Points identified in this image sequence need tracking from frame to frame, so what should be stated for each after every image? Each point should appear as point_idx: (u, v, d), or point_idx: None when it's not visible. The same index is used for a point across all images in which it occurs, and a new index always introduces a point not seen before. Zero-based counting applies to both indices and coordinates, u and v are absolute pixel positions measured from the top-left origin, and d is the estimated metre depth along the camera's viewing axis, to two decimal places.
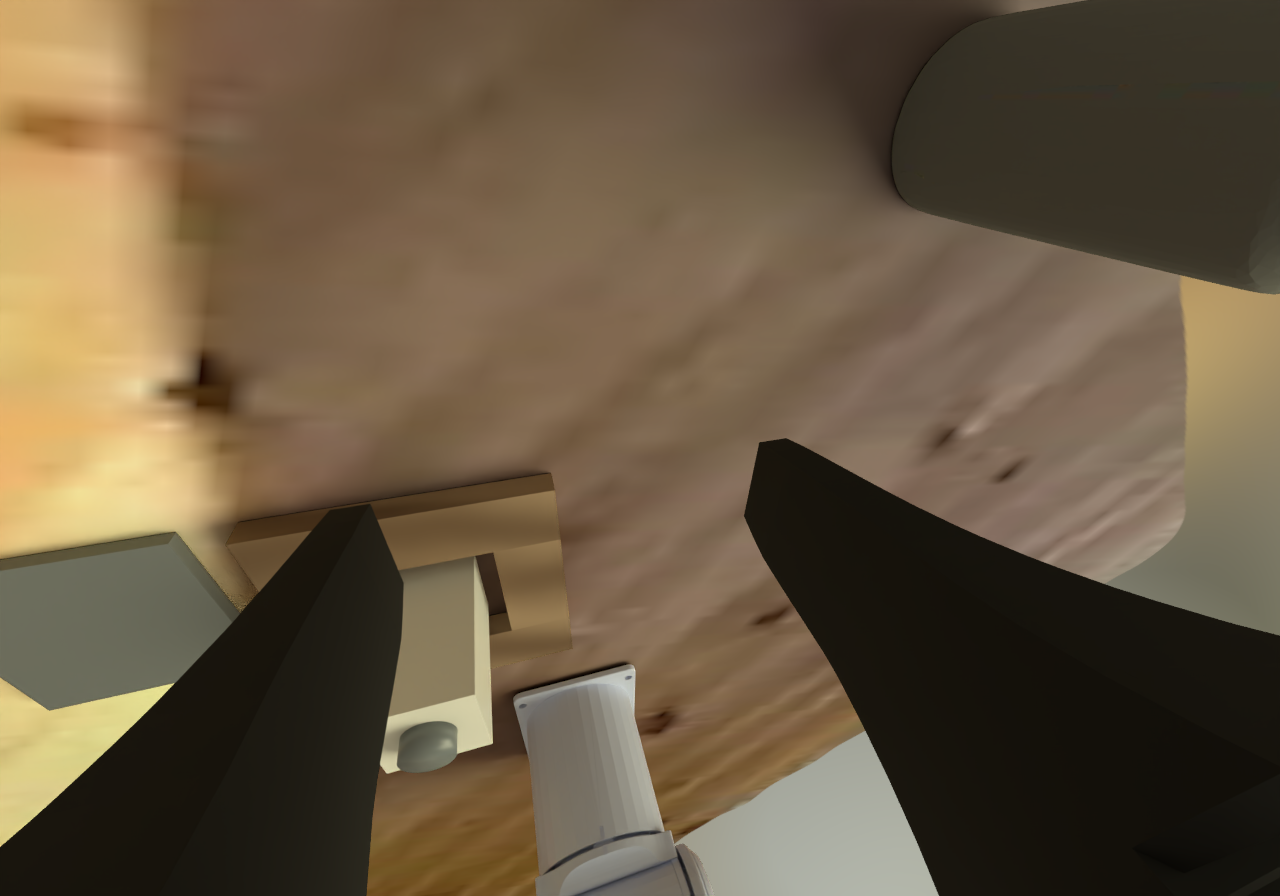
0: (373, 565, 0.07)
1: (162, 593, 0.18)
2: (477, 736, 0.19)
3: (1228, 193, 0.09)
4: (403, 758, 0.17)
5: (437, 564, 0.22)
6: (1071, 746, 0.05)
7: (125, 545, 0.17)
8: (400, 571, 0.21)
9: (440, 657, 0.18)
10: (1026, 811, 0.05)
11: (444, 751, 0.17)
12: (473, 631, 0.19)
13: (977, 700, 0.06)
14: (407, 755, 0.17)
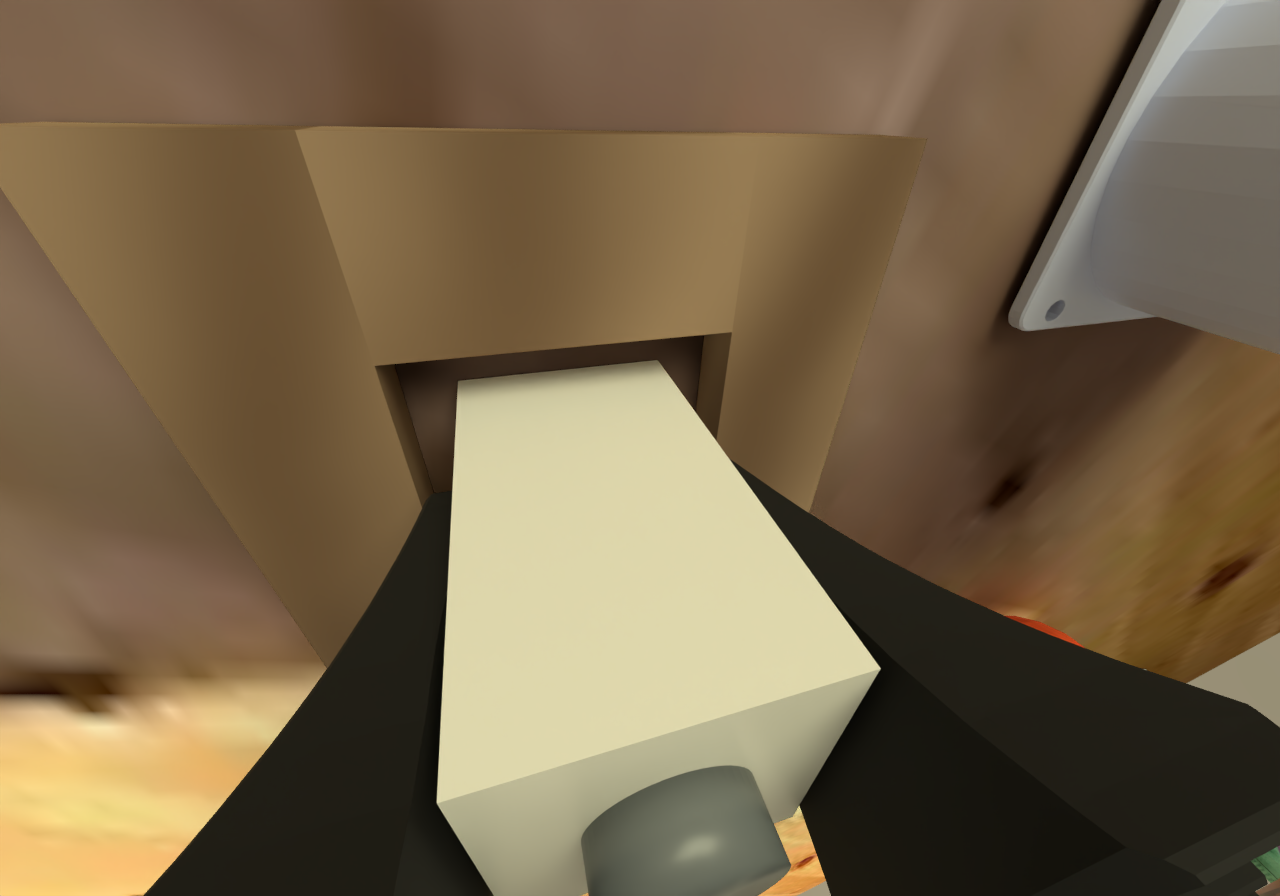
0: None
1: None
2: (782, 719, 0.05)
3: None
4: None
5: None
6: (943, 797, 0.04)
7: None
8: None
9: None
10: (910, 861, 0.05)
11: None
12: (450, 551, 0.06)
13: (866, 738, 0.05)
14: None
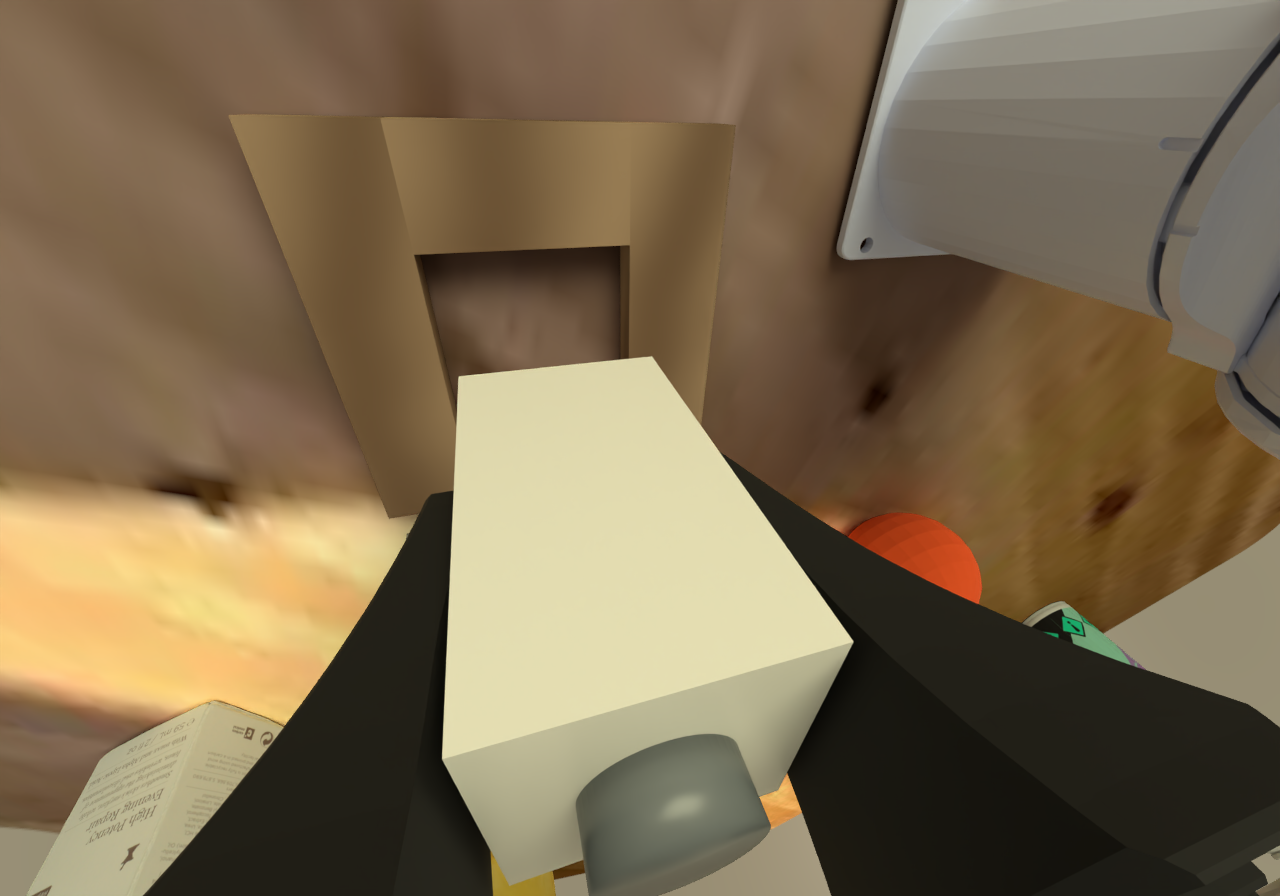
0: None
1: None
2: (762, 688, 0.05)
3: None
4: None
5: None
6: (944, 797, 0.04)
7: None
8: None
9: None
10: (910, 861, 0.05)
11: (668, 855, 0.05)
12: (452, 535, 0.06)
13: (867, 738, 0.05)
14: None
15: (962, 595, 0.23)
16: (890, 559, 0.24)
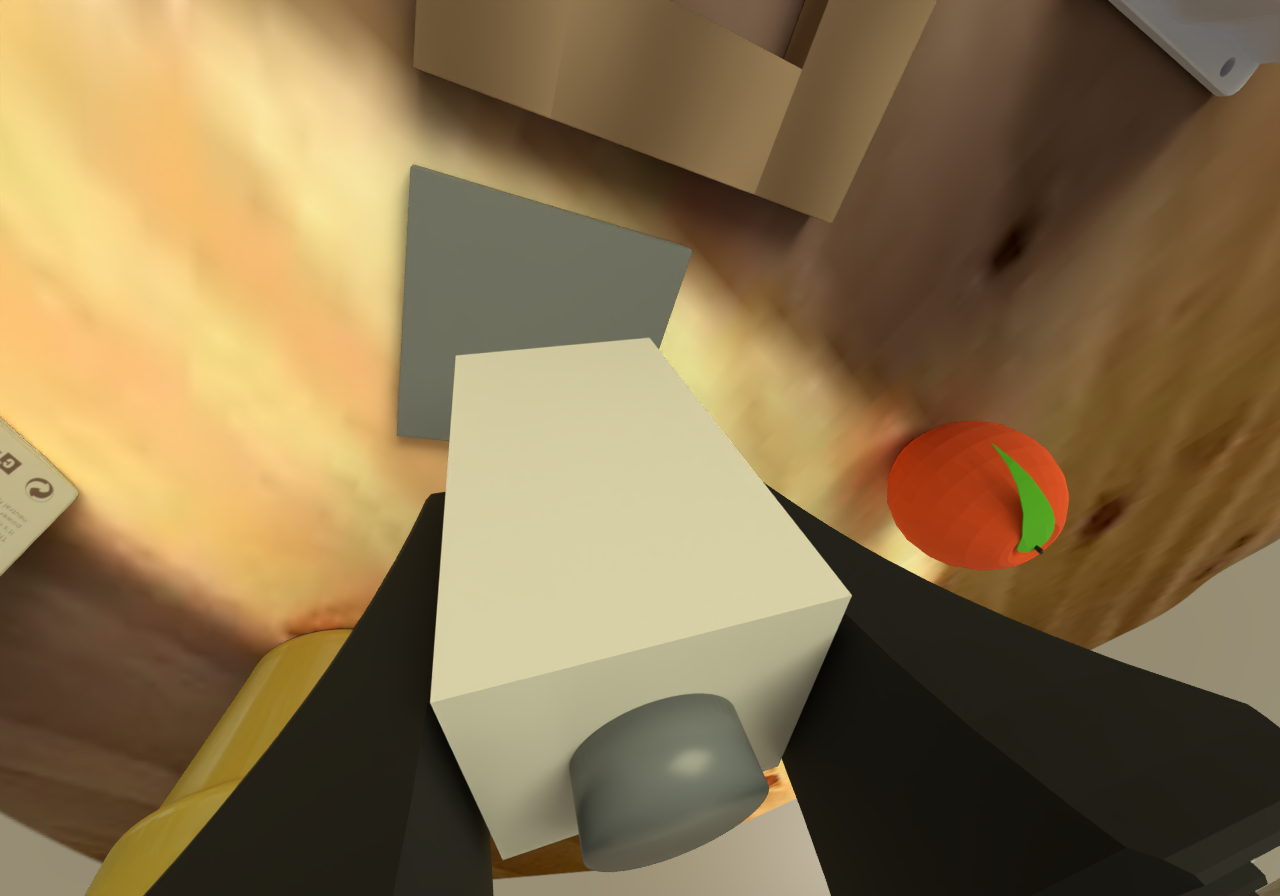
0: None
1: (502, 247, 0.13)
2: (759, 643, 0.05)
3: None
4: (631, 864, 0.05)
5: None
6: (943, 796, 0.04)
7: (408, 225, 0.13)
8: None
9: None
10: (910, 861, 0.05)
11: (662, 811, 0.04)
12: (445, 498, 0.06)
13: (867, 738, 0.05)
14: (619, 863, 0.05)
15: (1059, 503, 0.19)
16: (981, 452, 0.20)
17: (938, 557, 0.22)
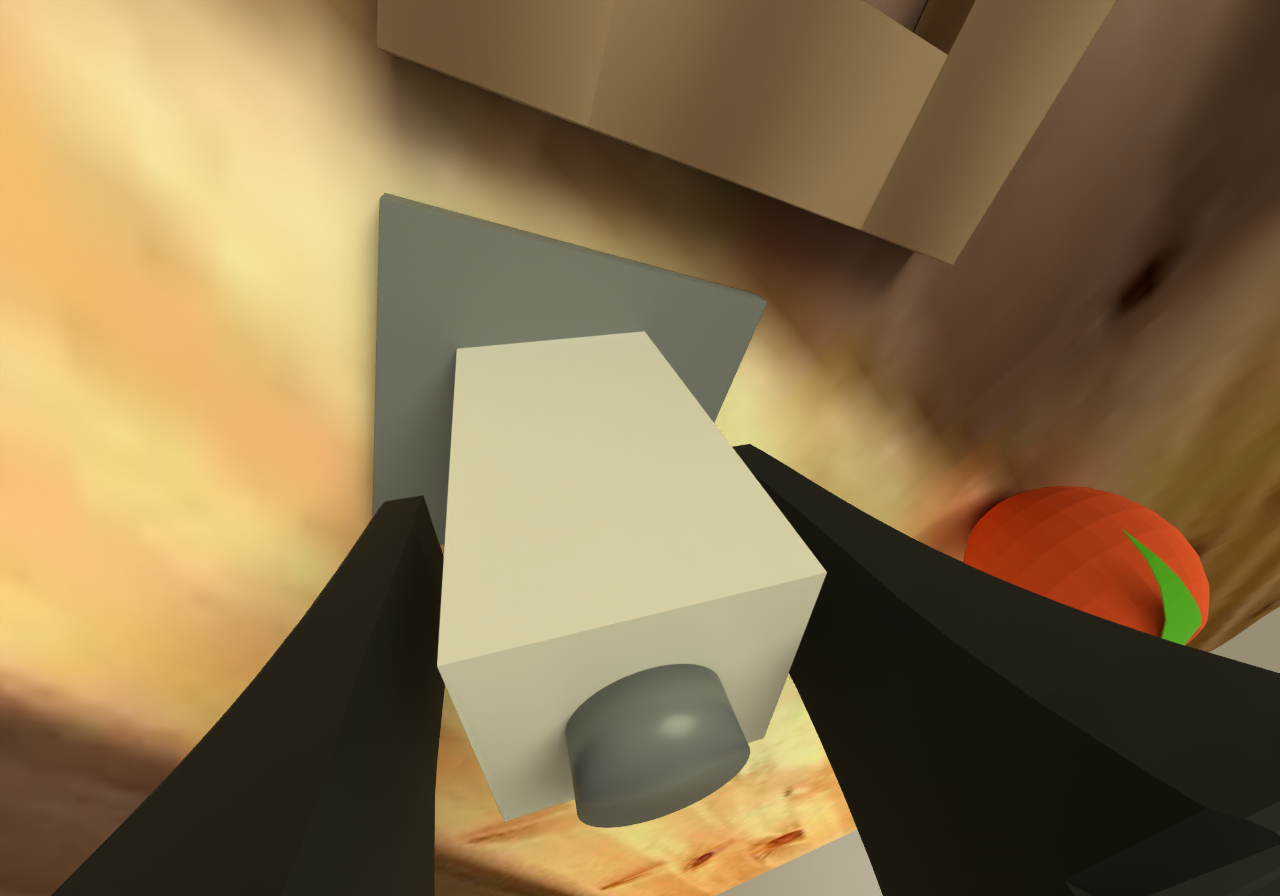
0: (428, 555, 0.08)
1: (513, 305, 0.09)
2: (741, 616, 0.05)
3: None
4: (623, 820, 0.06)
5: None
6: (1006, 772, 0.04)
7: (379, 278, 0.09)
8: None
9: None
10: (967, 836, 0.05)
11: (650, 768, 0.05)
12: (448, 484, 0.06)
13: (921, 719, 0.05)
14: (612, 819, 0.05)
15: (1203, 603, 0.15)
16: (1101, 535, 0.16)
17: None
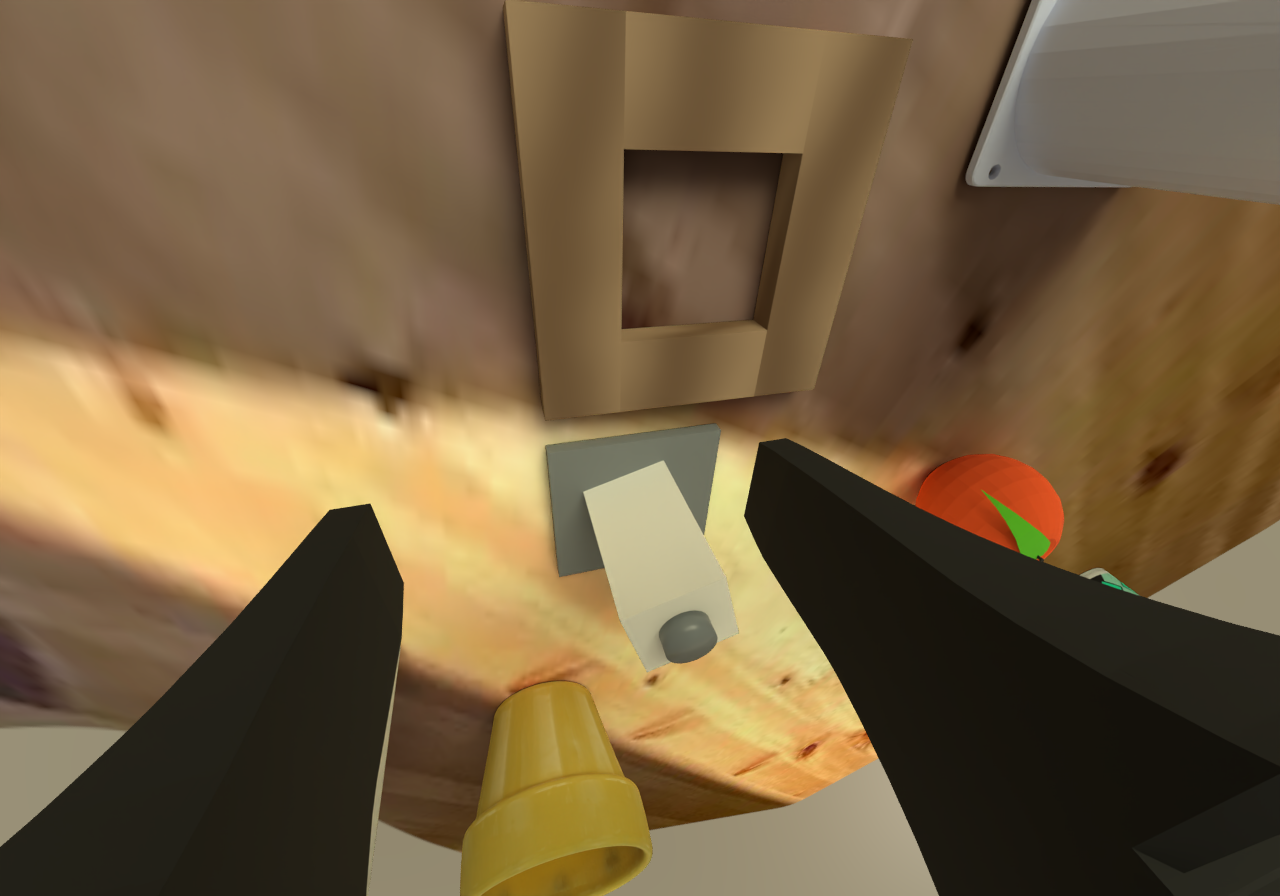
0: (373, 565, 0.07)
1: (603, 469, 0.21)
2: (702, 594, 0.17)
3: None
4: (682, 660, 0.17)
5: None
6: (1071, 746, 0.05)
7: (549, 475, 0.21)
8: None
9: None
10: (1026, 811, 0.05)
11: (683, 641, 0.17)
12: None
13: (977, 700, 0.06)
14: (678, 660, 0.17)
15: (1049, 523, 0.24)
16: (978, 491, 0.25)
17: None
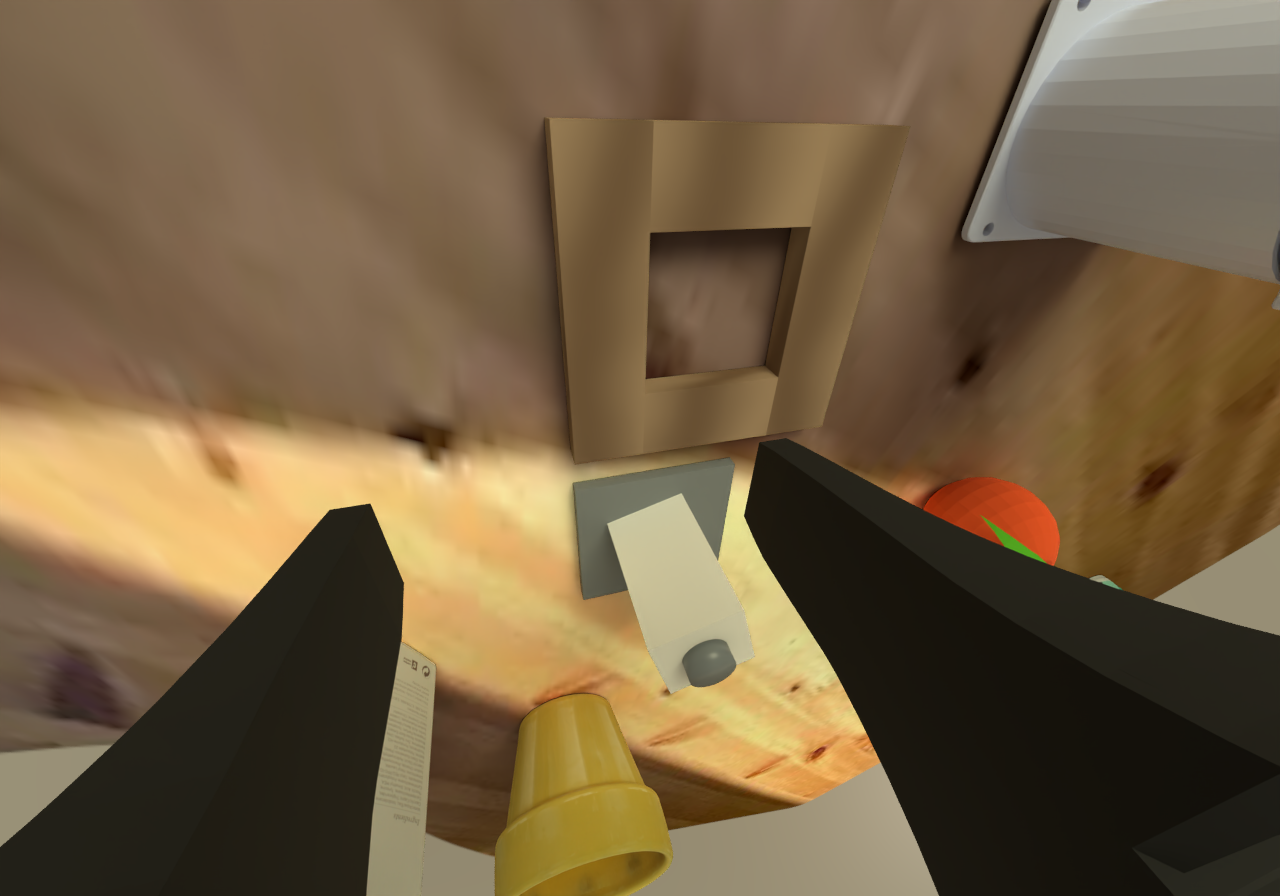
0: (373, 565, 0.07)
1: (626, 503, 0.23)
2: (722, 625, 0.18)
3: None
4: (704, 684, 0.19)
5: None
6: (1071, 746, 0.05)
7: (576, 510, 0.23)
8: None
9: None
10: (1026, 811, 0.05)
11: (705, 668, 0.18)
12: (630, 595, 0.20)
13: (977, 700, 0.06)
14: (700, 684, 0.19)
15: (1045, 546, 0.26)
16: (978, 515, 0.27)
17: None
